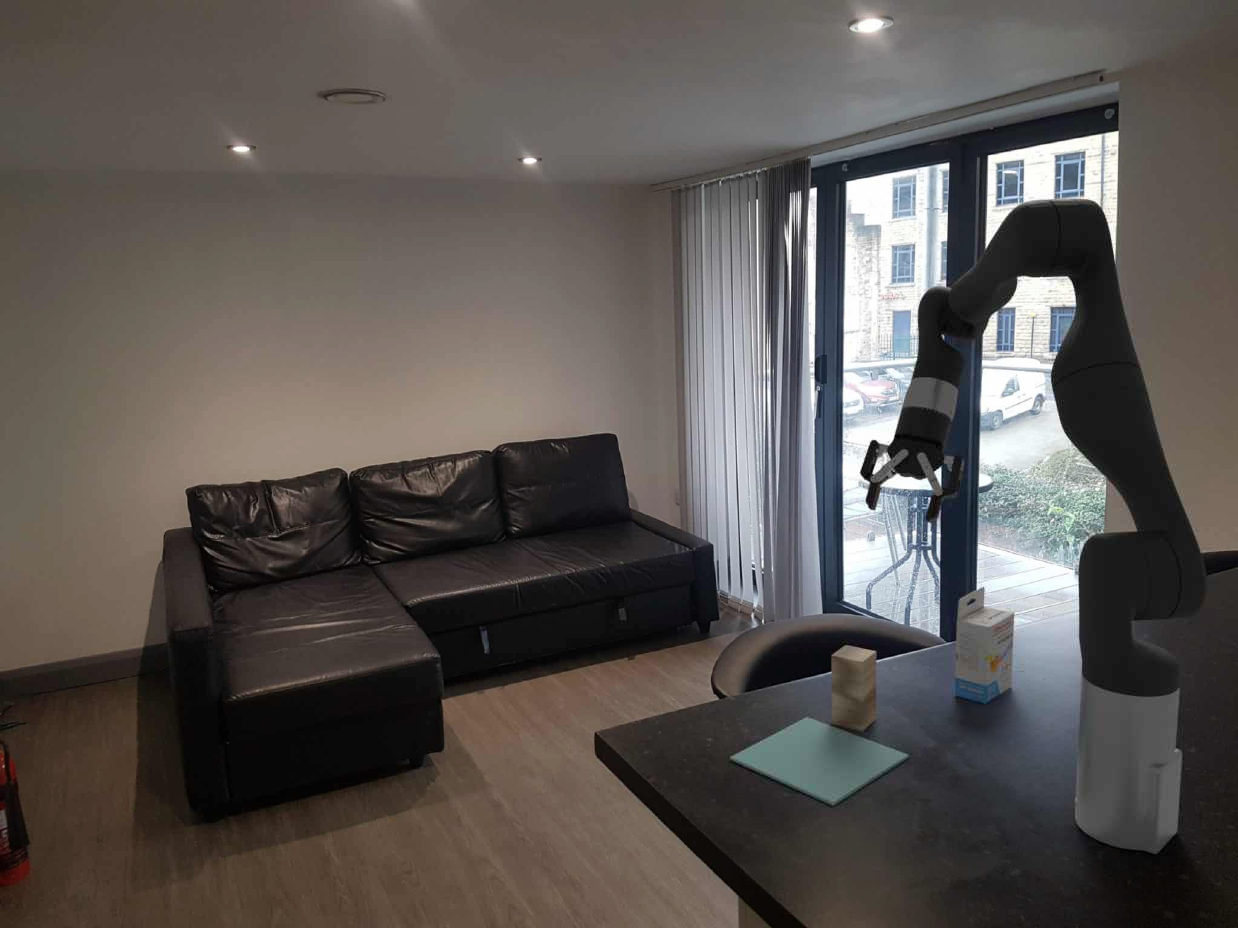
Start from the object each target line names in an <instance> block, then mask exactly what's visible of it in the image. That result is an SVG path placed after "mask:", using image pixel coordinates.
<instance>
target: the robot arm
mask: <svg viewBox="0 0 1238 928" xmlns="http://www.w3.org/2000/svg"><path fill="white" fill-rule="evenodd" d="M1110 230H1111V229H1110V226H1109V223H1108V219H1107V216H1106V214H1105V212H1104V210H1103V208H1102V207H1101V205H1100V204H1098V203H1097V202H1096V201H1094V200H1092V199H1088V198H1055V199H1054V198H1053V199H1052V198H1051V199H1050V198H1049V199H1048V198H1047V199H1042V198H1041V199H1032V200H1027V201H1024V202H1022V203H1020V204H1018V205H1016V206H1015V207H1014V208H1013V209H1012V210H1011V211H1010V212H1008V214H1007V215H1006V216H1005V218H1004V219H1003V220H1002V222H1001V224H1000V226H998V228H997V230H996V232H995V233H994V235H993V236H992V238H991V240H990V241H989V243H988V244H987V246H986V247H985V248H984V251H983V253H982V254H981V256H980V257H979V259H978V261H977V262H976V263H975V264H974V265H973V266H972V267H971V268H970V269H969V270H967V271H966V272H965V273H964V274H963V275H962V276H960V278H958V279H957V281H955V283H953V284H952V285H951V287H947V286H945V285H935V286H932V287H930V288H929V289H928V290H927V291H926V292H925V293H924V294H923V295H922V297H921V298H920V300H919V304H918V306H917V307H918V309H917V332H918V347H917V355H916V356H917V357H916V361H915V365H914V368H913V372H912V376H911V379H910V384H909V385H908V388H907V390H906V393H905V395H904V399H903V402H902V406H901V410H900V414H899V417H898V421H897V425H896V428H895V432H894V435H893V439H892V441H891V442H890V444H885V443H881V442H878V440H876V439H872V440H870V442H869V445H868V448H867V450H866V453H865V457H864V459H863V462H862V465H861V468H860V471H859V474H860V476H861V478H863V480H865V481H866V482H868V483H869V486H868V489H867V492H866V496H865V497H866V498H865V504H866V505H867V508H868V509H869V510H870V511H873V512H875V511H876V510H877V505H878V502H879V498H880V495H881V491H882V487H881V486H882V485H883V484H885V482H887V481H888V480H892V479H893V478H894V477H895V476H897V475H899V476H900V477H902V478H913V479H915V480H918V481H922V480H925V479H927V481H928V483H929V485H930V488H931V489H932V491H933V494H932V495H930V500H929V503H928V507H927V511H926V515H925V522H926V523H928V524H933V521H937V520H938V518H939V516H940V512H941V509H942V505H943V501H944V500H947V499H951V498H952V499H956V498H958V497H959V494H960V487H961V484H962V477H963V472H964V467H965V466H964V465H965V461H964V458H963V457H962V455H960V454H956V455H954V456H952V455H946V454H945V449H946V446H947V441H948V438H949V433H950V431H951V426H952V422H953V419H954V417H955V413H956V412H955V411H956V407H957V401H958V393H959V388H960V385H961V383H962V382H961V380H962V376H963V375H964V374H963V373H964V370H965V365H966V358H965V356H964V354H963V353H962V352H960V350H958V349H956V348H955V347H953V346H952V345H950V344H949V343H947V342H946V341H945V339H944V337H943V336H945V337H949V338H952V339H955V340H957V341H960V342H961V341H962V342H973V341H976V340H979V339H980V338H981V337H982V336H983V335H984V333H985V331H986V329H987V328H988V325H989V321H990V319H991V317H992V316H993V315H994V314H995V313H997V312H998V311H1000V310H1001V309H1002V308H1004V307H1005V306H1006V305H1007V304H1008V303H1009V302H1011V300H1012V298H1013V297H1014V295H1015V293H1016V291H1017V288H1018V278H1019V277H1020V278H1021V277H1027V278H1036V279H1037V278H1056V277H1057V278H1062V277H1063V278H1068V279H1069V280H1070V281H1071V285H1072V286H1073V292H1074V297H1075V298H1074V299H1075V311H1074V312H1075V313H1074V315H1073V319H1072V321H1071V323H1070V326H1069V328H1068V331H1067V332H1066V335H1064V336H1065V337H1064V338H1063V340H1062V342H1061V344H1060V346H1059V348H1058V350H1057V353H1056V356H1055V358H1054V360H1053V364H1052V367H1051V371H1050V373H1051V374H1050V383H1051V389H1052V392H1053V397H1054V402H1055V405H1056V410H1057V414H1058V418H1059V422H1060V424H1061V428H1062V431H1063V432H1064V434H1065V436H1066V438H1068V440H1069V441H1070V443H1072V445H1073V446H1074V447H1075V448H1076V449H1077V450H1078V451H1079V452H1080V453H1081V455H1082V456H1083V457H1084V458H1085V459H1086V460H1087V461H1088V462H1089V463H1090V464H1091V465H1092V466H1093V467H1094V468H1095V469H1097V470H1098V471H1099V472H1100V473H1101V475H1102V476H1103V477H1105V478H1106V479H1107V481H1108V482H1110V483H1111V485H1112V486H1113V487H1114V489H1116V491H1117V492H1118V493H1119V495H1120V496H1121V498H1122V500H1123V501H1124V503H1125V504H1126V506H1127V508H1128V509H1127V510H1128V511H1129V513H1130V515H1131V517H1132V520H1133V523H1134V526H1135V528H1136V531H1116V532H1115V531H1114V532H1113V531H1111V532H1102V533H1101V532H1099V533H1095V534H1093V535H1091V536H1090V537H1089V538H1088V539H1086V541H1085V543H1084V544H1083V547H1082V549H1081V552H1080V556H1079V560H1078V563H1079V564H1078V583H1077V584H1078V616H1079V617H1078V639H1079V640H1078V641H1079V643H1078V644H1079V648H1080V649H1079V650H1080V655H1081V679H1080V680H1081V681H1080V699H1079V700H1080V701H1079V721H1078V722H1079V723H1078V743H1077V744H1078V745H1077V761H1076V762H1077V763H1076V765H1077V767H1076V785H1075V786H1076V790H1075V800H1074V801H1075V802H1074V805H1075V811H1074V813H1075V814H1074V819H1075V823H1076V825H1077V826H1078V828H1079V829H1081V830H1082V832H1084V833H1085V834H1086V835H1087V836H1089V837H1091V838H1093V839H1095V840H1097V841H1098V842H1101V843H1104V844H1107V845H1109V846H1112V847H1117V848H1120V849H1125V850H1133V851H1134V850H1136V851H1144V852H1148V853H1151V854H1154V855H1157V854H1158V853H1159V852H1161V850H1162V849H1163V848H1164V847H1165V846H1166V845H1167V844H1168V843H1169V841H1170V840H1171V839H1172V838H1173V837H1174V836H1175V835H1176V834H1177V832H1178V825H1179V824H1178V823H1179V809H1180V808H1179V807H1180V794H1181V793H1180V790H1181V779H1182V766H1183V765H1182V763H1183V759H1182V758H1183V752H1182V750H1181V749H1178V748H1176V745H1177V734H1178V733H1177V732H1178V717H1179V715H1178V714H1179V704H1180V703H1179V702H1180V687H1181V670H1182V668H1181V664H1180V662H1179V659H1178V658H1177V657H1176V656H1175V655H1174V654H1173V653H1171V652H1170V651H1169V650H1166V649H1165V648H1163V647H1160V646H1159V645H1156V644H1152V643H1150V642H1148V641H1147V642H1146V641H1144V640H1140V639H1138V638H1134V637H1133V622H1134V621H1136V622H1137V621H1156V620H1157V621H1158V620H1159V621H1160V620H1175V619H1186V618H1190V617H1194V616H1195V615H1198V613H1200V611H1201V610H1202V609H1203V607H1204V605H1205V604H1206V599H1207V597H1208V596H1207V594H1208V577H1207V572H1206V566H1205V562H1204V559H1203V558H1204V557H1203V555H1202V552H1201V548H1200V546H1199V542H1198V540H1197V538H1196V535H1195V532H1194V530H1193V527H1192V524H1191V521H1190V519H1189V517H1188V515H1187V512H1186V510H1185V507H1184V505H1183V502H1182V500H1181V497H1180V495H1179V492H1178V489H1177V487H1176V484H1175V481H1174V479H1173V476H1172V474H1171V471H1170V467H1169V465H1168V461H1167V459H1166V456H1165V452H1164V448H1163V445H1162V442H1161V438H1160V435H1159V432H1158V429H1157V424H1156V421H1155V417H1154V413H1153V408H1152V404H1151V401H1150V396H1149V391H1148V388H1147V384H1146V381H1145V377H1144V374H1143V371H1142V368H1141V365H1140V364H1141V363H1140V361H1139V358H1138V354H1137V353H1136V352H1137V351H1136V349H1135V346H1134V342H1133V339H1132V335H1131V332H1130V328H1129V324H1128V321H1127V320H1128V319H1127V316H1126V312H1125V308H1124V304H1123V298H1122V295H1121V289H1120V283H1119V277H1118V271H1117V265H1116V259H1115V253H1114V247H1113V241H1112V235H1111V231H1110ZM884 454H887V455H888V457H889V459H890V460H888V461H887V462H886V463H885V464H883V465H882V466H881V467H880V469H879V470H878V471H876V472H875V473H874V471H875V468H876V465H877V461H878V459H880V458H881V457H883V455H884ZM945 464H946V466H947V469H948V470H949V472H950V476H949V480H948V485H947V487H942V485H941V484H940V482H939V479H938V477H937V476H936V475H937V474H936V473H935V472H937V470H939V469H940V468H941V467H942V466H944V465H945Z"/></svg>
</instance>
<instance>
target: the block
mask: <svg viewBox="0 0 1238 928" xmlns="http://www.w3.org/2000/svg"><path fill="white" fill-rule="evenodd" d="M876 719H877V651H876V650H871V649H866V648H861V647H857V646H854V645H853V646H852V645H848V644H846V645H844V646H842V647H841V648H840V649H838V650H836V651H835V652H834V653H833V654H831V724H832V725H836V726H840V727H843V728H847V729H850V730H855V731H859V732H864V731H865V730H866V729H867V728H868V727H869V726H870V725H872V724H873V723H874V722H875V721H876Z"/></svg>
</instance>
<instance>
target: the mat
mask: <svg viewBox="0 0 1238 928" xmlns="http://www.w3.org/2000/svg"><path fill="white" fill-rule="evenodd" d="M729 757H730V758H729V759H730V761H732V762H734V763H737V764H738V765H741V766H742V767H745V768H747V769H750V770H752V771H755V772H757V773H759V774H760V775H764V776H766V777H769V778H771V779H772V780H775V781H777V782H780V783H781V784H783V785H786V786H787V787H790V788H792V789H794V790H797V791H799V792H802V793H804V794H806V795H807V796H810V797H812V798H815V799H817V800H819V801H822V802H824V803H826V804H828V805H831V806H833V807H834V806H835V805H837V804H838V803H840V802H841V801H843V800H845V799H846V798H848V797H849V796H851V795H853V794H855V793H856V792H857V791H858V790H860V789H862V788H863V787H865V786H867V785H869V784H870V783H871V782H873V781H874V780H876V779H878V778H879V777H881V776H882V775H884V774H886V772H888V771H890V770H892V769H893V768H895V767H896V766H897V765H900V764H901V763H902V762H905V761H906V760H907V759H908V758H909V754H908V753H904V752H902V751H899V750H897V749H894V748H891V747H888V746H886V745H883V744H880V743H878V742H875V741H874V740H873V741H872V740H870V739H868V738H864V737H862V736H859V735H856V734H853V733H851V732H848V731H846V730H844V729H840V728H838V727H835V726H832V725H829V724H827V723H825V722H821V721H819V720H816V719H814V718H810V717H809V716H806V717H804V718H802V719H800V720H799V721H796V722H794V723H793V724H791V725H789V726H787V727H785V728H783V729H781V730H779V731H778V732H775V733H773V734H772V735H770V736H768V737H766V738H764V739H762V740H760V741H758V742H756V743H754V744H752V745H751V746H749V747H747V748H745V749H743V750H741V751H740V752H737V753H735V754H734V755H731V756H729Z"/></svg>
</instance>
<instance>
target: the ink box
mask: <svg viewBox="0 0 1238 928" xmlns="http://www.w3.org/2000/svg"><path fill="white" fill-rule="evenodd" d="M971 600H974V602H973V603H971V604H969V605H968V603H969V602H971ZM1014 629H1015V612H1014V611H1013V612H1012V611H1008V610H1004V609H998V608H993V607H990V606H986V605H985V586H982V587H980V588H978V589H976V590H973V591H971V592H970V593H968V594H966V595H964V596H963V597H961V598H959V599H958V603H957V619H956V632H955V634H956V637H955V640H956V642H955V643H956V645H955V673H954V675H955V678H954V679H955V680H954V681H955V682H954V696H955V697H958V698H963V699H965V700H966V699H967V700H969V701H973V702H976V703H979V704H980V703H981V704H984V705H986V704H988V703H989V702H991V701H992V700H994V699H996V697H998V696H999V695H1001V694H1003V693H1004V692H1006V691H1007V690H1009V689H1011V688H1012V680H1013V679H1012V678H1013V655H1014V653H1013V651H1014V650H1013V649H1014V633H1015V632H1014Z"/></svg>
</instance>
